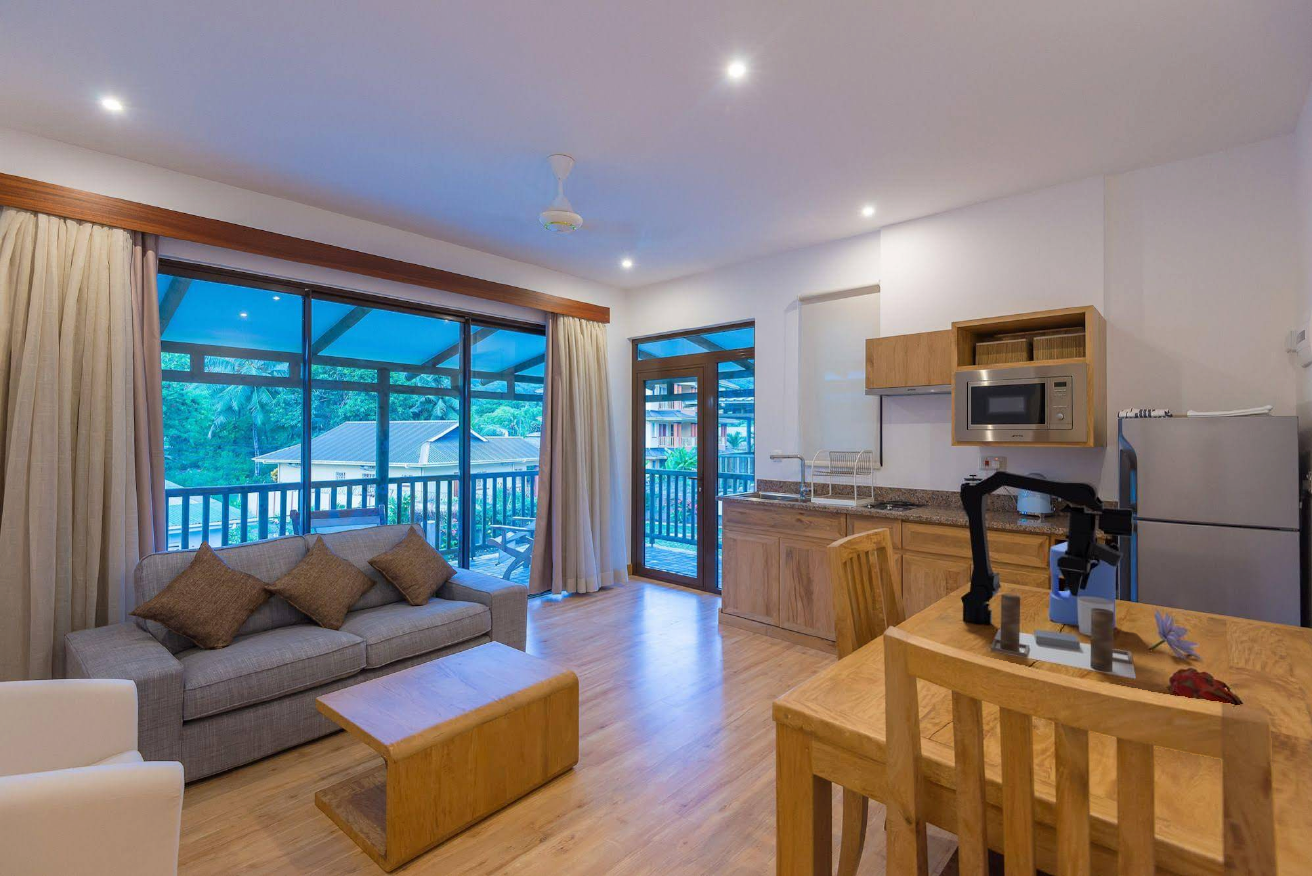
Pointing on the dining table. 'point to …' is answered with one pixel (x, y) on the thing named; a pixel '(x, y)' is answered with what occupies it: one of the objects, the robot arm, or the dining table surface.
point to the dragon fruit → (1201, 687)
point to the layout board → (1066, 655)
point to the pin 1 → (1010, 622)
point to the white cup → (1085, 611)
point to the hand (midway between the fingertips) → (1078, 592)
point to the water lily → (1173, 636)
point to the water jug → (1097, 586)
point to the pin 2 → (1101, 640)
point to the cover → (1056, 639)
